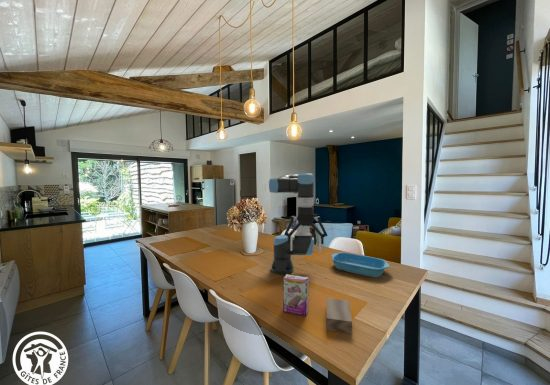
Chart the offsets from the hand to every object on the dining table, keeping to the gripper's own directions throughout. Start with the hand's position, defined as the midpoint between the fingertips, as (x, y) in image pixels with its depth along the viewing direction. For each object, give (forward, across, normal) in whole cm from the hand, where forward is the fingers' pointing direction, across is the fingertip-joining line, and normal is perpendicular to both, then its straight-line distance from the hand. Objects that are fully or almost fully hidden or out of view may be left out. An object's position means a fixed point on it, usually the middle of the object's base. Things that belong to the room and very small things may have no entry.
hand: (305, 250), depth 111 cm
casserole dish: (+27, +36, +48) cm, 66 cm away
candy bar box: (+28, -5, -5) cm, 28 cm away
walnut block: (+27, +14, -10) cm, 32 cm away
